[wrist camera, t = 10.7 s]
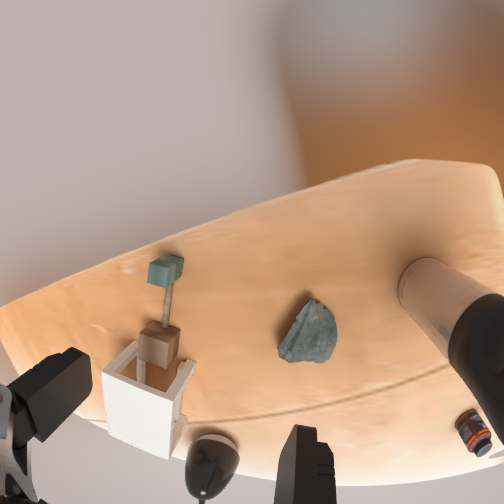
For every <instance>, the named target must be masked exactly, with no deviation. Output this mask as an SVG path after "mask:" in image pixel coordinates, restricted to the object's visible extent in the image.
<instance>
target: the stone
mask: <svg viewBox="0 0 504 504" xmlns="http://www.w3.org/2000/svg"><path fill="white" fill-rule="evenodd" d="M336 341H337V328H336V323H335V319H334V317H333V316H332V315H331V314H330V312H329V311H328V310H327V309H326V308H325V309H324V308H323V305H322V304H320V303H318V304H316V303H315V300H314V299H311V300H310V301H309V302H308V303H307V304H306V305H305V306H304V307H303V309H302V310H301V312H300V313H299V314H298V315H297V316H296V321H295V322H293V325H292V326H291V329H290V330H289V331H288V334H287V335H286V337H285V338H284V339H283V340H282V342H281V343H280V344H279V346H278V347H277V349H278V354H279V357H280V358H282V359H284V360H286V361H287V362H289V363H292V362H300V361H315V362H316V363H324V362H326V361H327V360H329V358H330V356H331V354H332V352H333V350H334V348H335V346H336Z"/></svg>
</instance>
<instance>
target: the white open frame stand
mask: <svg viewBox="0 0 504 504" xmlns="http://www.w3.org/2000/svg"><path fill="white" fill-rule="evenodd" d="M138 352H139V342H138V341H136V340H134V341H133V342H132V343H131V344H130V345H129V346H128V347H126V348H125V349H124V350H123V351H122V352H121V353H120V354H119V355H118V356H117V357H116V358H115V359H114V360H113V361H112V362H111V363H109V364H108V365H107V366H106V367H105V368H104V369H103V370H102V371H101V374H102V385H103V395H104V404H105V412H106V419H107V426H108V433H109V435H111V436H113V437H115V438H118V439H120V440H122V441H124V442H126V443H128V444H130V445H133V446H135V447H137V448H140V449H142V450H144V451H146V452H149V453H152V454H154V455H156V456H159V457H161V458H164V459H167V460H169V458H170V456H171V454H172V452H173V450H174V448H175V446H176V444H177V442H178V440H179V438H180V436H181V434H182V432H183V430H184V428H185V426H186V424H187V422H188V417H187V416H184V415H181V407H182V398H183V390H184V388H185V386H186V384H187V383H188V381H189V379H190V377H191V376H192V374H193V372H194V370H195V368H196V362H195V361H192V360H189V359H187V361H186V362H184V361H181V363H180V364H179V366H178V369H177V376H176V378H175V379H174V381H173V382H172V384H171V385H170V387H169V388H168V390H167V391H166V393H165V392H162V391H160V390H157V389H154V388H152V387H149V386H147V385H145V379H146V362H145V361H143V360H140V359H138ZM136 356H137V368H136V381H135V380H132V379H130V378H128V377H125V376H123V375H121V374H119V373H120V372H121V371H122V370H123V369H124V368H125V367H126V366H127V365H128V364H129V363H130V362H131V361H132V360H133V359H134V358H135V357H136ZM173 422H176V424H175V426H174V428H173Z"/></svg>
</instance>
